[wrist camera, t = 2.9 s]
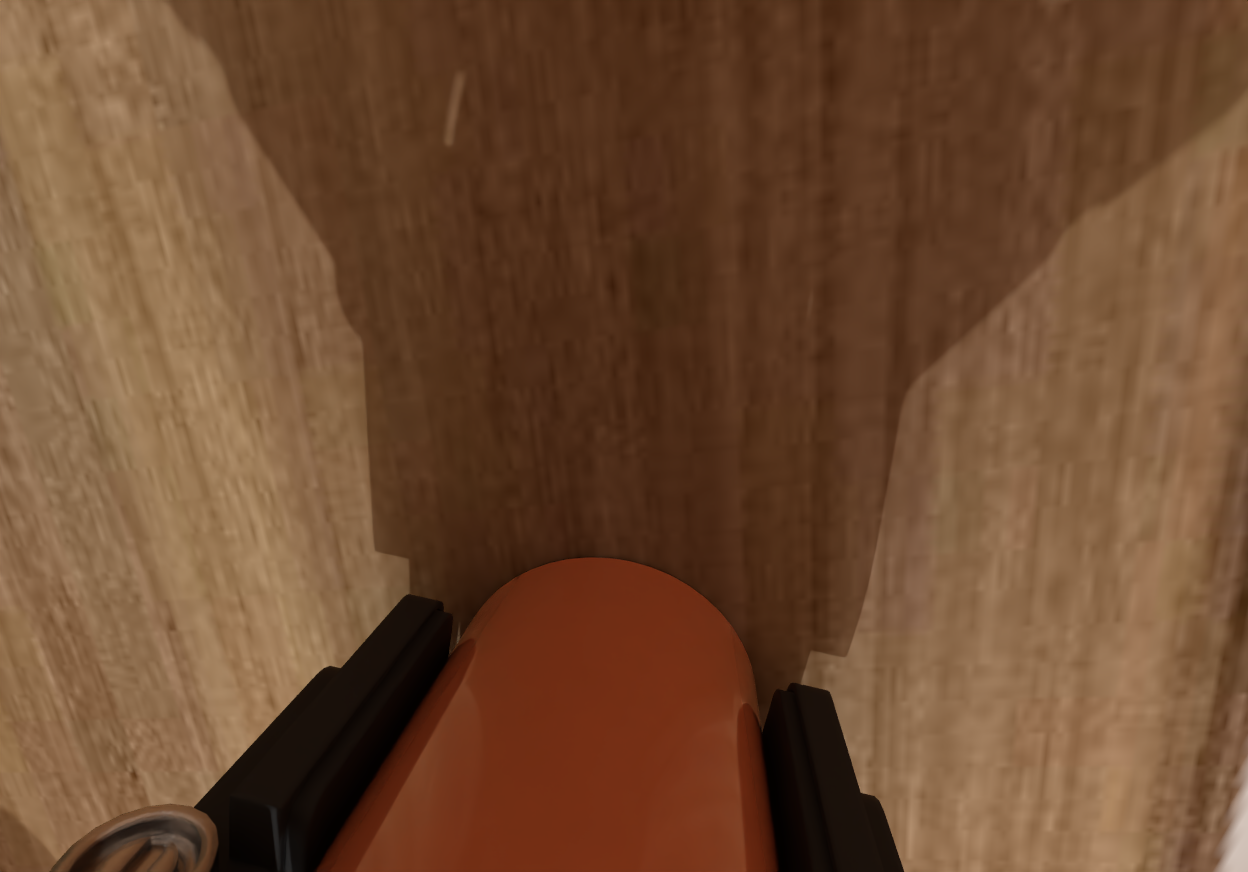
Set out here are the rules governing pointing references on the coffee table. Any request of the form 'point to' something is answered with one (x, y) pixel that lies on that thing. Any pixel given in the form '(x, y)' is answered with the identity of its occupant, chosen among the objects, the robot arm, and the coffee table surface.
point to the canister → (577, 739)
